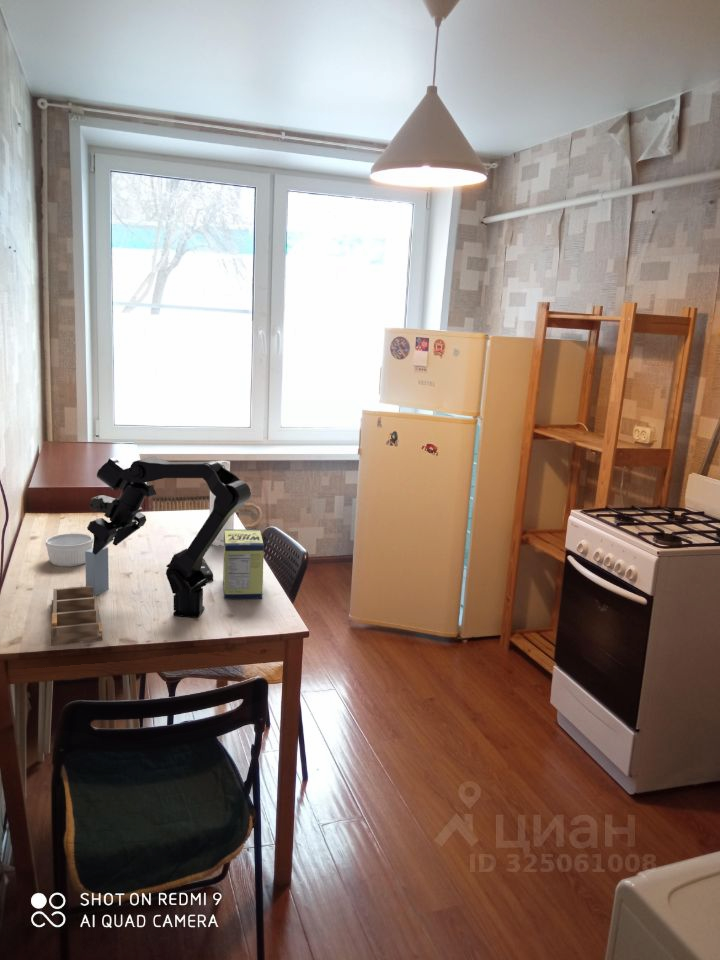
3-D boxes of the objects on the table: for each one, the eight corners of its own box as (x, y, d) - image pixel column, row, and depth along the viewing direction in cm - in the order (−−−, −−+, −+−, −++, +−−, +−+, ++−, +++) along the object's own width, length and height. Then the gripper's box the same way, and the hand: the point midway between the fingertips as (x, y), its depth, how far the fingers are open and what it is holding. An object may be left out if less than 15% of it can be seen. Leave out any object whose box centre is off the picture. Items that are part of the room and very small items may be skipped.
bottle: (236, 540, 244) (238, 460, 239) (228, 547, 237) (230, 465, 231) (214, 538, 246) (215, 458, 240) (205, 544, 238) (206, 462, 232)
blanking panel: (108, 589, 195) (108, 547, 192) (95, 595, 189) (94, 552, 187) (99, 587, 195) (98, 545, 193) (86, 593, 190) (85, 551, 188)
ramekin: (41, 568, 207) (41, 545, 206) (51, 554, 220) (50, 532, 218) (89, 568, 210) (89, 545, 208) (96, 554, 222) (96, 532, 221)
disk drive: (213, 582, 206) (203, 565, 219) (214, 573, 205) (203, 557, 218) (177, 586, 202) (168, 568, 215) (177, 576, 201) (168, 559, 214)
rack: (97, 599, 187) (96, 583, 186) (102, 639, 164) (102, 621, 163) (51, 603, 182) (51, 586, 181) (50, 645, 160) (50, 626, 159)
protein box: (258, 579, 209) (260, 528, 206) (262, 599, 194) (264, 544, 191) (222, 580, 207) (223, 528, 203) (224, 600, 192) (225, 545, 189)
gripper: (124, 477, 191) (100, 524, 195) (83, 489, 173) (57, 540, 177) (157, 500, 190) (132, 546, 194) (119, 515, 172) (92, 565, 176)
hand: (104, 549), depth 186 cm, fingers open, 9 cm apart
